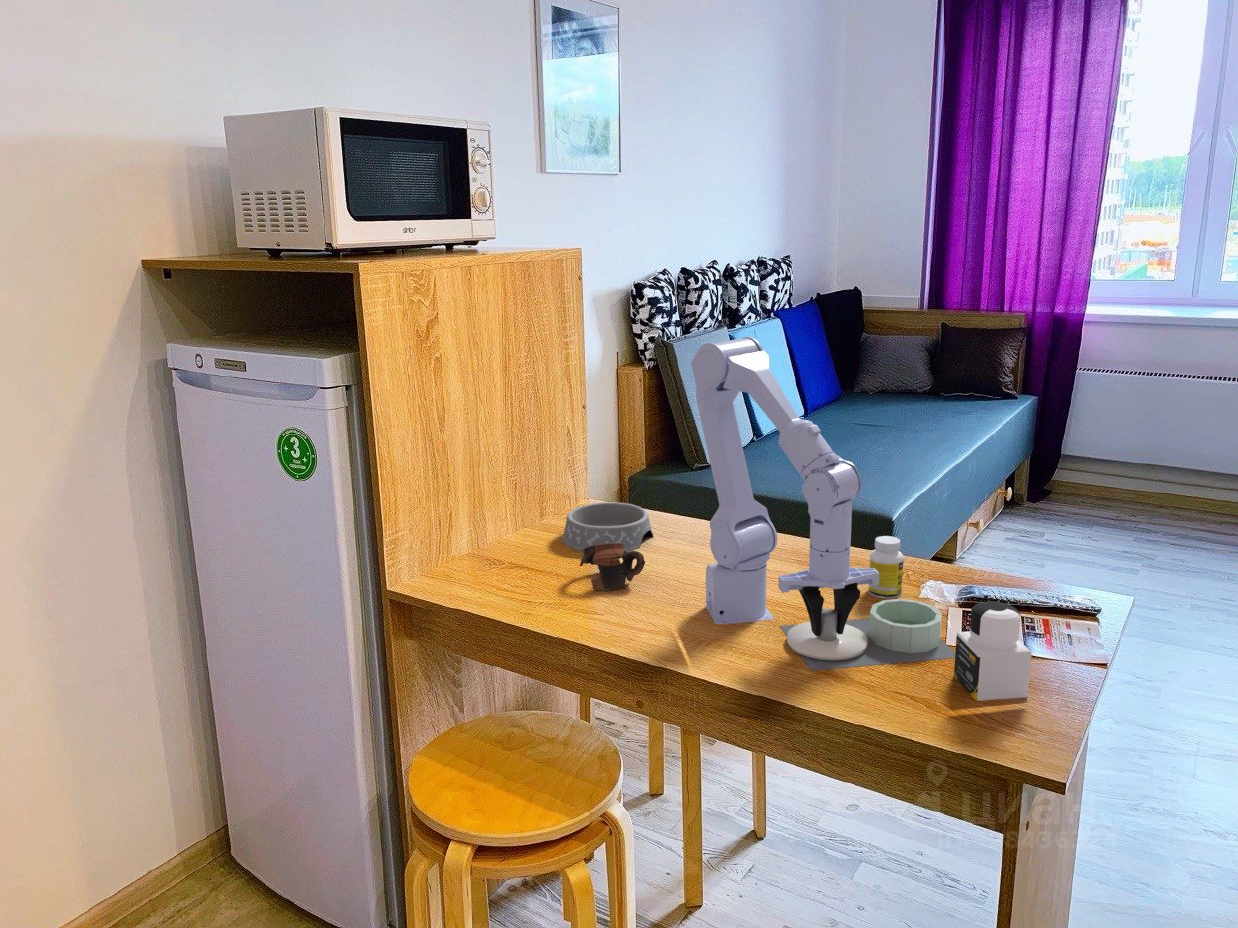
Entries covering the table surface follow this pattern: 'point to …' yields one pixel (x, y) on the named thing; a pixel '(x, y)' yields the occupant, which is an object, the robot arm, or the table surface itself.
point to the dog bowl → (606, 525)
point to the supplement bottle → (887, 567)
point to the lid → (827, 639)
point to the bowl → (905, 625)
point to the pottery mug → (612, 565)
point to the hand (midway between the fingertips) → (827, 632)
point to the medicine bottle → (993, 654)
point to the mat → (874, 652)
